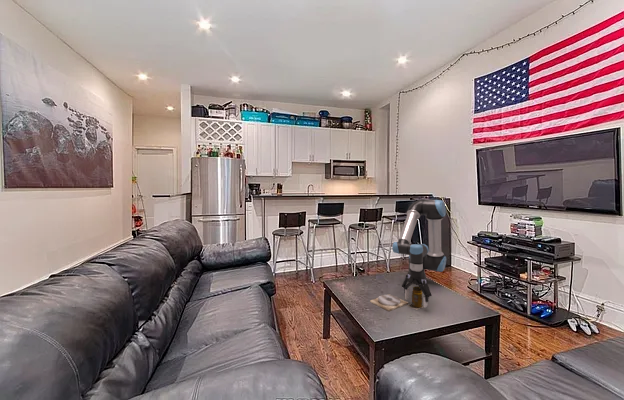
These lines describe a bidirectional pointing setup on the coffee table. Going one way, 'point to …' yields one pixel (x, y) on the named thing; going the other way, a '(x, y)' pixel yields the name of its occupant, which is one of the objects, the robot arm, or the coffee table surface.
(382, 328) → the coffee table surface
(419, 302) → the condiment
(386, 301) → the board
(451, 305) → the coffee table surface
